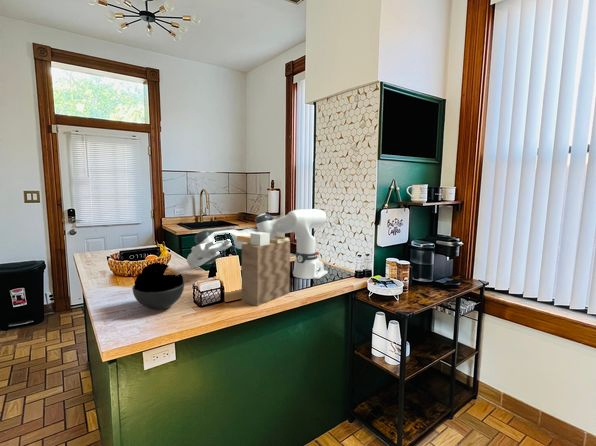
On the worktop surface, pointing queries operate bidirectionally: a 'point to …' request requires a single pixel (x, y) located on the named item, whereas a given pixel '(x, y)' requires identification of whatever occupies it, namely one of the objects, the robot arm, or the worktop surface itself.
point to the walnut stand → (265, 271)
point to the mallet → (255, 238)
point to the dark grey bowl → (157, 287)
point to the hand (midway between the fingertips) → (221, 241)
